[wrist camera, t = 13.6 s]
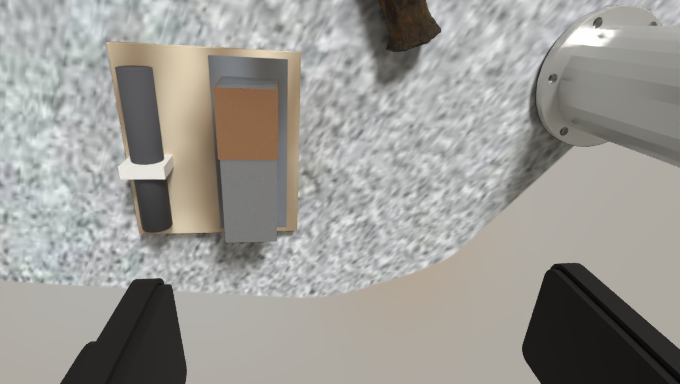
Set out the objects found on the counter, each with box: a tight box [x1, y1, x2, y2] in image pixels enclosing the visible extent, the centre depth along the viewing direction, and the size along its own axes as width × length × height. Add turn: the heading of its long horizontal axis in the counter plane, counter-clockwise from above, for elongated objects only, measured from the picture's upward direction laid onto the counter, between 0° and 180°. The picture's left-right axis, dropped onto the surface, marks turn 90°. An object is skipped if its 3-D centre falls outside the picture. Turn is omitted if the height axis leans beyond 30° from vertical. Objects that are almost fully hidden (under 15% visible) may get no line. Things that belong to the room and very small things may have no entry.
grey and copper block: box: [213, 76, 278, 243], centre depth 30 cm, size 4×12×5 cm, turn 176°
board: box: [107, 42, 301, 234], centre depth 33 cm, size 14×16×1 cm
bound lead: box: [115, 65, 174, 233], centre depth 30 cm, size 3×13×3 cm, turn 176°
